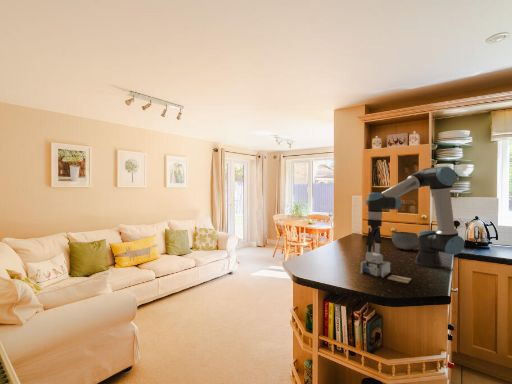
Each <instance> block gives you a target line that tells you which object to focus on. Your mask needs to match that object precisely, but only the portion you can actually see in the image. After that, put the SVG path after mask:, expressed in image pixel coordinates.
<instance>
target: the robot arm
mask: <svg viewBox="0 0 512 384" xmlns="http://www.w3.org/2000/svg"><path fill="white" fill-rule="evenodd" d="M457 177H458V176H457V173H456V171H455V170H454V169H453V168H452V167H450V166H436V167H427V168H423V169H420V170H418V171H416V172H414V173H412V174H411V175H408V176H407V178H406V179H405V180H403V181H402V180H401V181H400V182H399V183H396V184H395V185H393V186H391V187H390V188H387V189H386V190H384V191H382V192H369V193H368V196H367V198H366V201H365V204H366V206H367V211H368V212H366V214H367V218H368V219H367V226H369V228H368V230H367V231H368V232H367V238H366V243H365V246H367V247H366V248H367V252H366V253H367V257H368V258H373V252H374V253H378V254H381V253H380V251H381V244H382V236H381V227H382V226H383V221H382V219H383V210H392V211H393V210H399V209H401V207H402V200H401V198H400V197H401V196H403V195H405V194H407V193H408V192H410V191H412V190H417V189H419V188H422V187H423V188H424V187H429V190H430V191H432V192H433V199H434V200H433V201H434V210H435V217H436V225H437V226H436V227H437V230H420V231H419V232H418V239H419V241H418V253H417V255H416V258H415V261H414V262H415V264H416V265H418V266H421V267H428V268H437V269H438V268H442V267H443V261H442V259H441V256H440V253H444V254H447V255H453V256H455V255H459V254H460V253H461V252H462V250H464V247H465V239H464V238H463V237H461V236H459V231H458V230H456V229H455V223H454V221H455V220H454V213H453V205H452V197H451V190H452V189H453V186H454V185H455V183H456V181H457ZM374 241H375V242H374ZM373 245H374V246H373Z"/></svg>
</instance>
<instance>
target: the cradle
mask: <svg viewBox="0 0 512 384" xmlns="http://www.w3.org/2000/svg"><path fill="white" fill-rule="evenodd" d="M365 267H366V259H365V260H364V261H361V262H360V274H364V273H366V272H365ZM390 273H391V261H385V260H383V266H382V270H381V276H380V277H381V278H382V279H383V278H385V277H386V276H387V275H389V274H390Z"/></svg>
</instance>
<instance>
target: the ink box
mask: <svg viewBox="0 0 512 384" xmlns="http://www.w3.org/2000/svg"><path fill="white" fill-rule="evenodd" d="M365 260H366V267H365V272H364V273H366V274H369V275H372V276H375V277H381V270H382V266H383V261H384V255H383V254H381V253H380V254H378V253H375V251H373V258H368V257H367V252H365Z"/></svg>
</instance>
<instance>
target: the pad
mask: <svg viewBox="0 0 512 384" xmlns="http://www.w3.org/2000/svg"><path fill="white" fill-rule="evenodd" d="M386 279H387V280H390V281H395V282H398V283H404V284H409V283H410V282H411V281H412V278H410V277H405V276H400V275H395V274H390V275H389V276H388V277H386Z"/></svg>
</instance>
